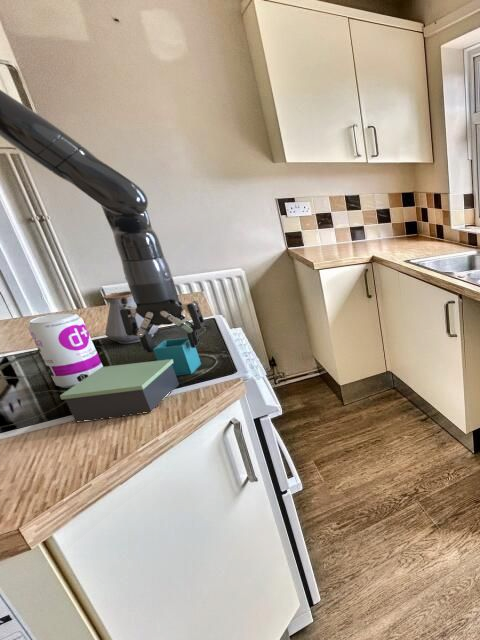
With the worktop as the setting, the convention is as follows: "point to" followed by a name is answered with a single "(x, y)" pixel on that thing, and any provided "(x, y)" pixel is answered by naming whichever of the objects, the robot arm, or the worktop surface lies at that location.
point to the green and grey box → (121, 390)
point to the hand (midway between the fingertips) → (173, 348)
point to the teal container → (178, 355)
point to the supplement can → (65, 347)
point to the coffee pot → (115, 322)
